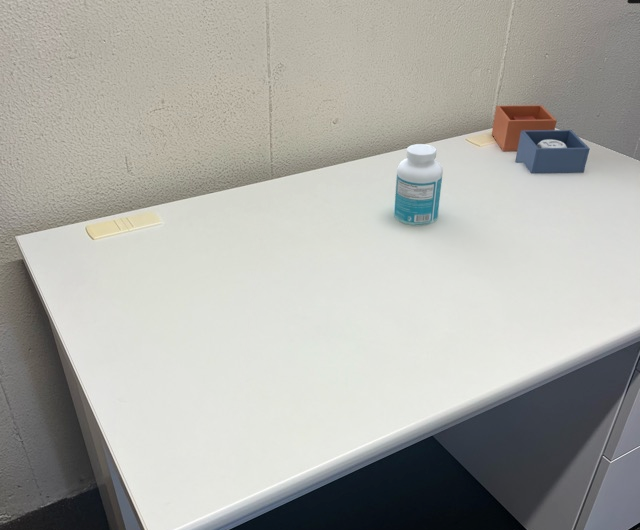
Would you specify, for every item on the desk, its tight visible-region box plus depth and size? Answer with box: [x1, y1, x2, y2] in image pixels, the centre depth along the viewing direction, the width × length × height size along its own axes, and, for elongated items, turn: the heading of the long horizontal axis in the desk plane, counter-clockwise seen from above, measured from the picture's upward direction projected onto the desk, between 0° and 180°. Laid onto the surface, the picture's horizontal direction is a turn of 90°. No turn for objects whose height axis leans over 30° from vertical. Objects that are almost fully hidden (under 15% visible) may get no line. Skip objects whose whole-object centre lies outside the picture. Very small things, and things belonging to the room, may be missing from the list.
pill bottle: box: [393, 143, 444, 227], centre depth 101 cm, size 8×7×14 cm
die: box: [536, 139, 567, 148], centre depth 121 cm, size 5×5×5 cm
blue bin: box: [514, 129, 591, 174], centre depth 121 cm, size 10×10×7 cm
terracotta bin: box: [491, 104, 558, 152], centre depth 134 cm, size 10×10×7 cm
